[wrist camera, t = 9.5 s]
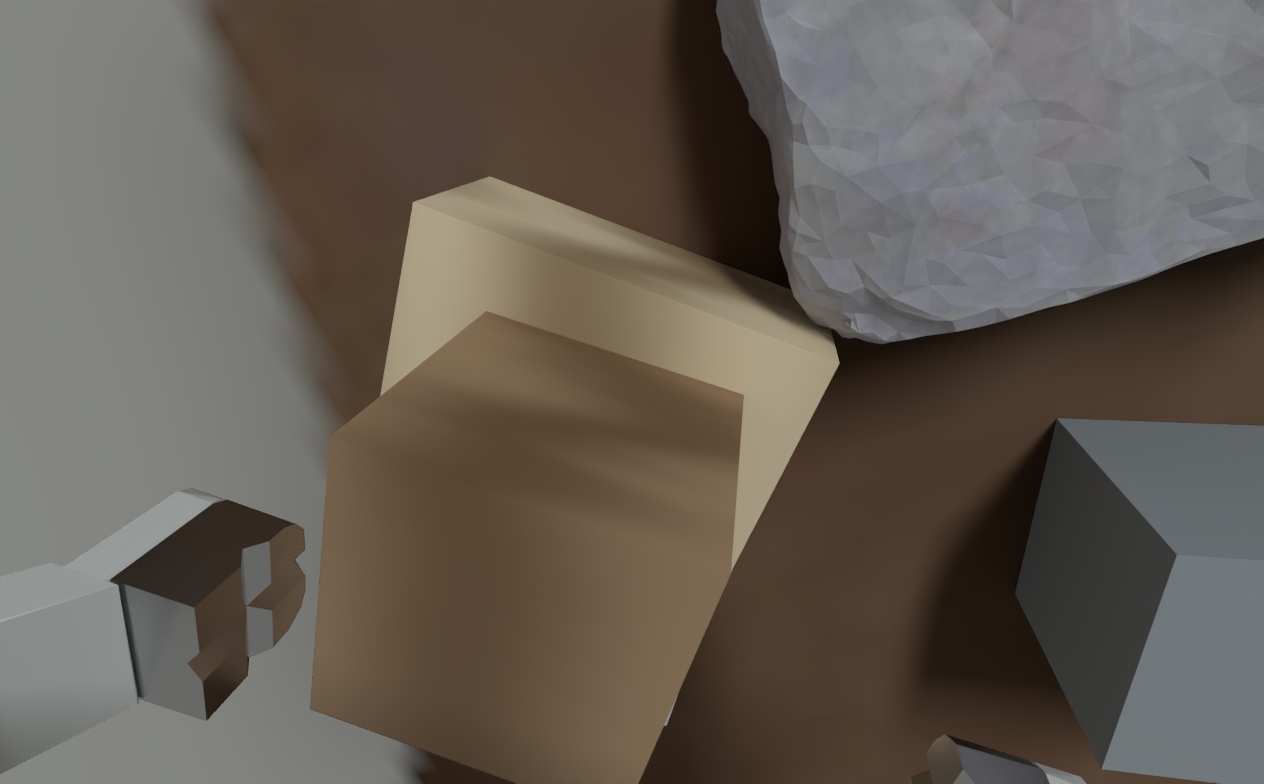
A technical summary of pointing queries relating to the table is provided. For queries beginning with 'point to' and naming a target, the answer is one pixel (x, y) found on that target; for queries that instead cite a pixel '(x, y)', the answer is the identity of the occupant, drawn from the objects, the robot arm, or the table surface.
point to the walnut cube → (525, 554)
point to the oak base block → (615, 311)
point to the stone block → (998, 149)
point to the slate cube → (1154, 593)
